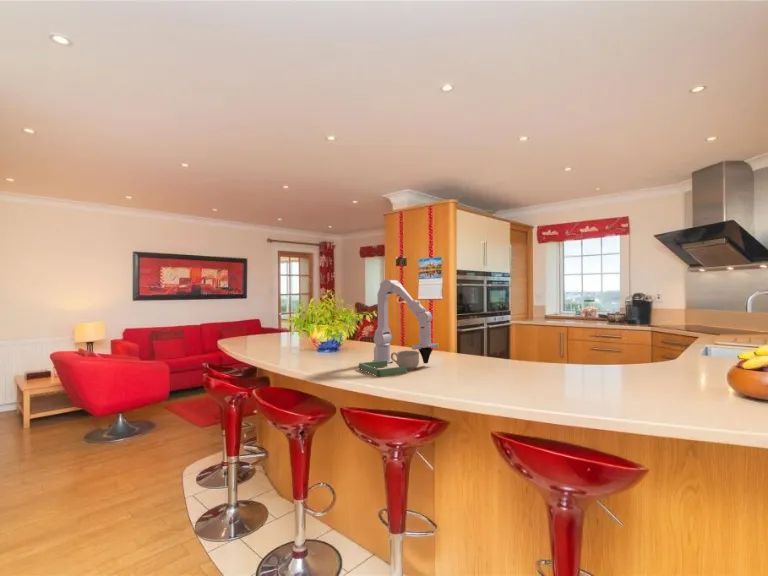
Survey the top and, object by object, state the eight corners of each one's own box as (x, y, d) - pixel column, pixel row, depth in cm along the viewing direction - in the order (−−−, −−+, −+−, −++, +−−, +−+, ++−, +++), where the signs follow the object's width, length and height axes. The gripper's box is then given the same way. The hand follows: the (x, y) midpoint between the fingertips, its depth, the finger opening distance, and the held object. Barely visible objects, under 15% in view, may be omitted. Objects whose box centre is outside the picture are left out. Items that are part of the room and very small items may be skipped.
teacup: (423, 367, 186) (422, 351, 186) (412, 371, 176) (412, 354, 177) (398, 365, 193) (397, 349, 193) (386, 369, 184) (386, 352, 184)
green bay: (359, 369, 185) (359, 363, 185) (386, 366, 191) (386, 360, 191) (377, 377, 167) (377, 370, 167) (407, 373, 173) (406, 366, 173)
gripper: (417, 337, 183) (417, 365, 183) (441, 335, 190) (442, 362, 190) (409, 336, 190) (409, 363, 190) (433, 334, 196) (434, 360, 196)
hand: (425, 363), depth 190 cm, fingers closed
